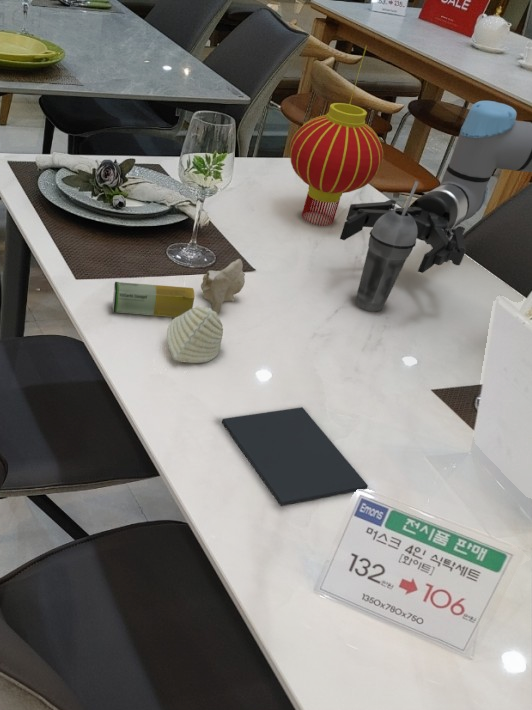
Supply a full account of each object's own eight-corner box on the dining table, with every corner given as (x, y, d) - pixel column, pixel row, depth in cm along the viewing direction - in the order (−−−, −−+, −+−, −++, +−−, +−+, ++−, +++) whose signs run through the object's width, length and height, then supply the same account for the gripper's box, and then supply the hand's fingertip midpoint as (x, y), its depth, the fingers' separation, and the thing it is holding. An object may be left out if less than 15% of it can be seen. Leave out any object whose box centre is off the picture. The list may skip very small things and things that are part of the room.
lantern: (316, 196, 159) (363, 30, 139) (378, 231, 150) (437, 59, 129) (256, 207, 151) (296, 32, 130) (317, 244, 142) (370, 63, 121)
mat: (366, 489, 92) (368, 485, 92) (280, 505, 88) (282, 502, 88) (301, 410, 103) (302, 407, 102) (221, 422, 98) (222, 418, 98)
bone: (213, 273, 125) (248, 235, 116) (237, 304, 125) (273, 269, 117) (180, 291, 120) (214, 253, 112) (205, 324, 120) (240, 289, 112)
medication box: (112, 314, 115) (114, 291, 112) (111, 303, 116) (113, 280, 113) (191, 319, 116) (195, 296, 113) (190, 308, 118) (194, 286, 115)
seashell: (239, 331, 111) (235, 329, 103) (201, 376, 113) (194, 378, 106) (196, 294, 111) (190, 290, 103) (159, 340, 113) (150, 339, 106)
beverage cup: (338, 300, 127) (378, 177, 113) (364, 289, 131) (406, 170, 117) (373, 320, 123) (419, 196, 110) (399, 309, 127) (446, 187, 113)
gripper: (495, 261, 129) (448, 301, 116) (364, 209, 138) (307, 241, 125) (516, 217, 123) (469, 254, 110) (378, 167, 133) (319, 195, 120)
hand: (382, 247), depth 118 cm, fingers open, 13 cm apart
